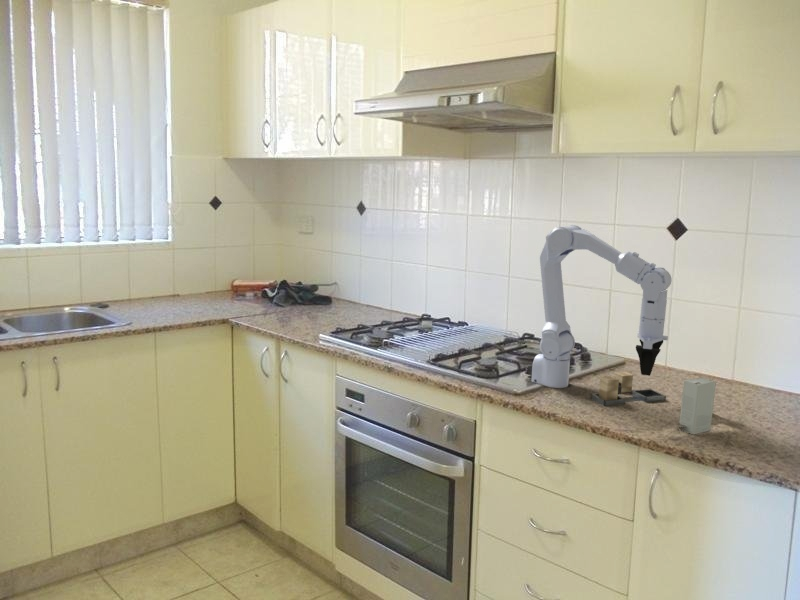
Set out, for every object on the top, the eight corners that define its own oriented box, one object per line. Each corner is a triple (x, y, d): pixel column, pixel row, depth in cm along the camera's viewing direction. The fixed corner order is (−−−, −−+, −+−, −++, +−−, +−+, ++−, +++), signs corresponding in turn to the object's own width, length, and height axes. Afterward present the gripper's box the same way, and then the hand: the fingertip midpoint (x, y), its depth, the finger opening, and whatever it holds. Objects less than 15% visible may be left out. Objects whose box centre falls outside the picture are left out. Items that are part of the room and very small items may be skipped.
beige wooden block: (623, 393, 190) (625, 371, 189) (631, 397, 187) (632, 375, 186) (609, 394, 188) (611, 372, 187) (616, 398, 185) (618, 376, 184)
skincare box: (695, 425, 167) (700, 375, 164) (711, 431, 163) (717, 381, 160) (677, 429, 164) (682, 378, 161) (693, 436, 160) (698, 384, 158)
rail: (603, 411, 174) (604, 401, 174) (590, 403, 180) (591, 393, 180) (664, 406, 180) (665, 396, 179) (650, 398, 186) (650, 389, 185)
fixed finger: (605, 403, 176) (607, 380, 175) (598, 399, 179) (600, 376, 178) (621, 402, 177) (623, 379, 176) (613, 398, 180) (615, 375, 179)
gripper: (667, 325, 165) (662, 380, 168) (671, 314, 179) (666, 366, 181) (636, 321, 168) (631, 376, 171) (642, 311, 181) (637, 362, 184)
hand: (647, 371), depth 176 cm, fingers open, 7 cm apart
